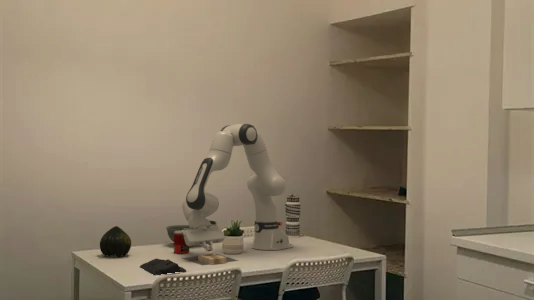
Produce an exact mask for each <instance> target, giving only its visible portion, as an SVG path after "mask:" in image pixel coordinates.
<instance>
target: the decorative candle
mask: <svg viewBox="0 0 534 300" xmlns="http://www.w3.org/2000/svg"><path fill="white" fill-rule="evenodd" d="M284 206H286V207H285V217H286V221H285V232H284V233H285V234H287V236H288V238H300V234H301V233H300V232H301V231H300V228H301V227H300V226H301V224H300V215H301V203H300V195H299V194H298V193H288V195H287V196H286V203H285V205H284Z"/></svg>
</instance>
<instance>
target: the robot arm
mask: <svg viewBox="0 0 534 300" xmlns="http://www.w3.org/2000/svg"><path fill="white" fill-rule="evenodd" d="M241 146H242V147H243V149H244V152H245V156H246V158H247V159H246V160H247V162H248V165H249V167H250V170H251V171H253V172H254V173H255V174H252V175H251V176H250V177H248V179H247V182H246V185H247V189H248V190H249V192H250V193H251V195H252V198H253V203H254V206H255V207H254V208H255V211H254V212H255V220H254V238H253V243H252V246H251V248H252V249H255V250H261V251H262V250H264V251H279V250H284V249H290V248H294V244H292V243H290V237H288V236H287V234H285V233H286V232H284V231H283V230H282V229H281V228H279V227H282V226H283V225H284V224H283V222H282V221H277V205H276V204H275V203H274V201H273V199H272V197H278V196H282V195H283V194H284V193H285V192H286V189H287V183H286V180H285V179H284V178H283V177H282V176H281V175H280V174H279V173H278V172H277V170H276V168H275V167H274V165H273V164H272V162H271V159H270V156H269V153H268V150H267V147H266V144H265V142H264V139H263V137H262V135H261V134H260V132H259V131H257V128H255V126H254V125H252V124H250V123H235V124H230V125H225V126H223V127H222V128H221V129H220V130H219V131H218V132H216V133H215V134H214V137H213V139H212V141H211V143H210V147H209V151H208V154H207V156H206V157H205V158H204V159H203V160H202V162H201V164H200V166H199V167H198V170H197V173H196V175H195V178H194V180H193V183H192V185H191V187H190V189H189V190H188V192H187V193H186V197H185V199H184V200H183V202H182V207H181V208H182V212H183V215H184V217H185V220H186V221H187V222H188V225H189V227H190V228H184V229H183V230H182V233H183V235H184V239H185V243H186V245H188V246H189V247H193V246H201V247H202V248H204V249H205V251H206V252H213V251H214V247H213V244H218V243H219V244H220V243H223V242H224V240H225V238H226V237H225V234H224V232H223V230H222V228H221V227H220V226H219V223H218V221H215V220H211V219H207V217H209V216H211V215H213V214H214V213H215V212H217V210H218V209H219V205H220V204H219V203H220V202H219V199H218V197H216V196H215V195H214V194H212V193H209V192H207V191H206V190H205V189H206V185H207V183H208V181H209V179H210V176H211V174H212V173H214V172H216V171H217V172H218V171H222V170H224V169H225V168H227V167H228V166H229V164H230V161H231V157H232V153H233V149H234V147H241Z"/></svg>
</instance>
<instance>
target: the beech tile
mask: <svg viewBox="0 0 534 300" xmlns="http://www.w3.org/2000/svg"><path fill="white" fill-rule="evenodd" d="M216 254H217V253H207V254H199V255H197V256H198V261H201V262H205V263H208V264H210V265H212V266H215V265H221V264H227V263H228V262H227V258H226V257H227V256H225V257H223V256H224V255H222V256H220V255H221V254H219V255H216Z"/></svg>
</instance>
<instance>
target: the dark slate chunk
mask: <svg viewBox="0 0 534 300" xmlns="http://www.w3.org/2000/svg"><path fill="white" fill-rule="evenodd" d="M139 268H140V269H142V270H143V269H144V270H143V271H145V272H147V273H149V274H151V275H152V274H153V276H158V275H159V276H162V275H161V274H167V273H175V272H183V273H186V272H187V269H185V268H184V267H182V266H180V265H179V263H176V262H174V261H172V260H170V259H160V258H153V259H151V260H149V261H148V262H144V263H142V264H140V266H139Z"/></svg>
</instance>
